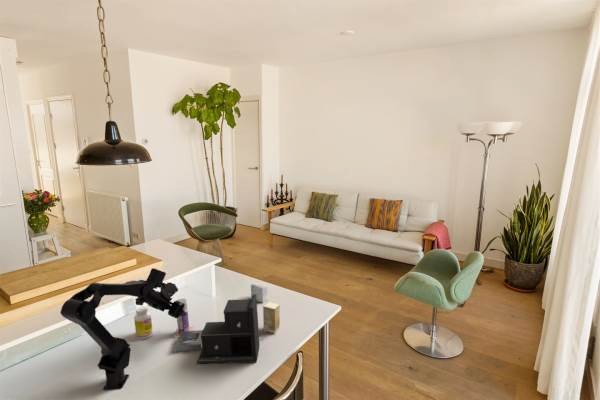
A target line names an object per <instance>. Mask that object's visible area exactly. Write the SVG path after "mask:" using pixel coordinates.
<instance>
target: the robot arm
mask: <svg viewBox="0 0 600 400" xmlns="http://www.w3.org/2000/svg"><path fill="white" fill-rule="evenodd" d="M166 275H167V273H166V272H165V271H162V270H160V269H157V268H151V269H150V271H149V274H148V276H147V279H146V280H143V279H139V280H129V281H126V282H125V283H108V282H107V283H104V282H103V283H101V282H100V283H99V282H93V283H90V284H89V285H87V286H86V288H84V289H82V290H80V291H79V292H78V291H77V292H76V293H74V294H73V295H72V296H71V297H70V298H69V299H67V300H66V301H64V303H63V305H62V306H61V309H60V314H61V316H62V317H63V318H64V319H66V320H68V321H70V322H72V323H74V324H77V325H79V326H80V327H81V328H82V330H84V331H85V332H86V334H87V335H88V336H90V338H92V340H93V341H94V342H95V343H96V344H97V345H98V346H99V347H100V349H101V350H100V353H101V358H100V360H99V362H98V363H97V367H98V369H99V370H103V371H105V378H106V379H105V380H106V383H105V384H104V386H103V387H102V389H103V391H104V390H115V389H122V388H123V387H124V386H125V384H126V382H127V381H128V379H129V377H130V374H125V369H127V368H128V367H129V365H130V360H131V359H130V358H131V347H130V346H131V344H129V343H128V342H127V340H126V339H125V338H121V337H116V336H113V335H112V333H110V331H109V330H108V329H107V328H106V327H105V325H104V324H102V322H101V321H100V320H99V319H98V317H96V310H97V308H98V307H99V306H100V304H101V300H102V298H103V297H104V296H128V297H129V296H130V297H134V298H135V299H134V300H135V305H136V306H143V305H144V304H147V307H150V308H153V309H155V310H158V311H161V312H163V313H164V312H165V311H167V315H168V316H170V317H172V318H174V319H176V320H177V318H178V317H181V316H186V314H187V313H186V312H185V311H184V310H183V308H184V306H185V304H183V303H182V302H179V301H177V300H175V301H173V302H172V299H173V296H174V295H175V294H176V293H177V292H178V291H179V288H178V287H177V285H176V283H173V282H166V283H165V282H163V281H164V280H165V277H166ZM158 288H159V289H160V290H159V291H158V290H156V289H158ZM91 297H92V298H91ZM90 298H91V299H90ZM88 299H90V300H88Z"/></svg>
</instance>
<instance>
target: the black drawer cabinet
mask: <svg viewBox="0 0 600 400" xmlns="http://www.w3.org/2000/svg"><path fill="white" fill-rule="evenodd" d="M256 298H257V296H256V294H254V295H252V298H250V299H249V298H248V299H242V298H241V299H228V300H227V302H226V304H225V306H224V308H223V315H224V318H223V319H224V321H207V322H205V325H204V327H203V329H202V330H203V331H202V333H201V340H202V351H200V353H199V356H198V358H197V360H196V364H197V365H211V364H213V365H214V364H234V363H235V364H236V363H237V364H240V363H244V364H245V363H257V361H258V358H259V353H260V352H259V351H260V347H261V346H260V332H259V331H260V329H259V317H258V301H257V299H256Z"/></svg>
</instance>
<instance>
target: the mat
mask: <svg viewBox="0 0 600 400" xmlns="http://www.w3.org/2000/svg"><path fill="white" fill-rule="evenodd" d="M194 328H195V326H189V331H194ZM179 336H180V335H179V333H178V328H177V330H176V332H175V334H174V336H173V338H174V339H178V338H179Z"/></svg>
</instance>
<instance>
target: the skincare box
mask: <svg viewBox="0 0 600 400" xmlns="http://www.w3.org/2000/svg"><path fill="white" fill-rule="evenodd" d="M280 308H281V307H280V304H278V303H274V302H270V301H266V302H265V304H264V305H263V307H262V312H263V313H262V314H263V317H262V319H263V323H262V324H263V331H264V332H266V333H270V334H274V335H276V334H277V333H278V332H279V331H280V326H281V325H280V323H281V322H280V321H281V320H280V317H281V316H280V315H281V313H280Z"/></svg>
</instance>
